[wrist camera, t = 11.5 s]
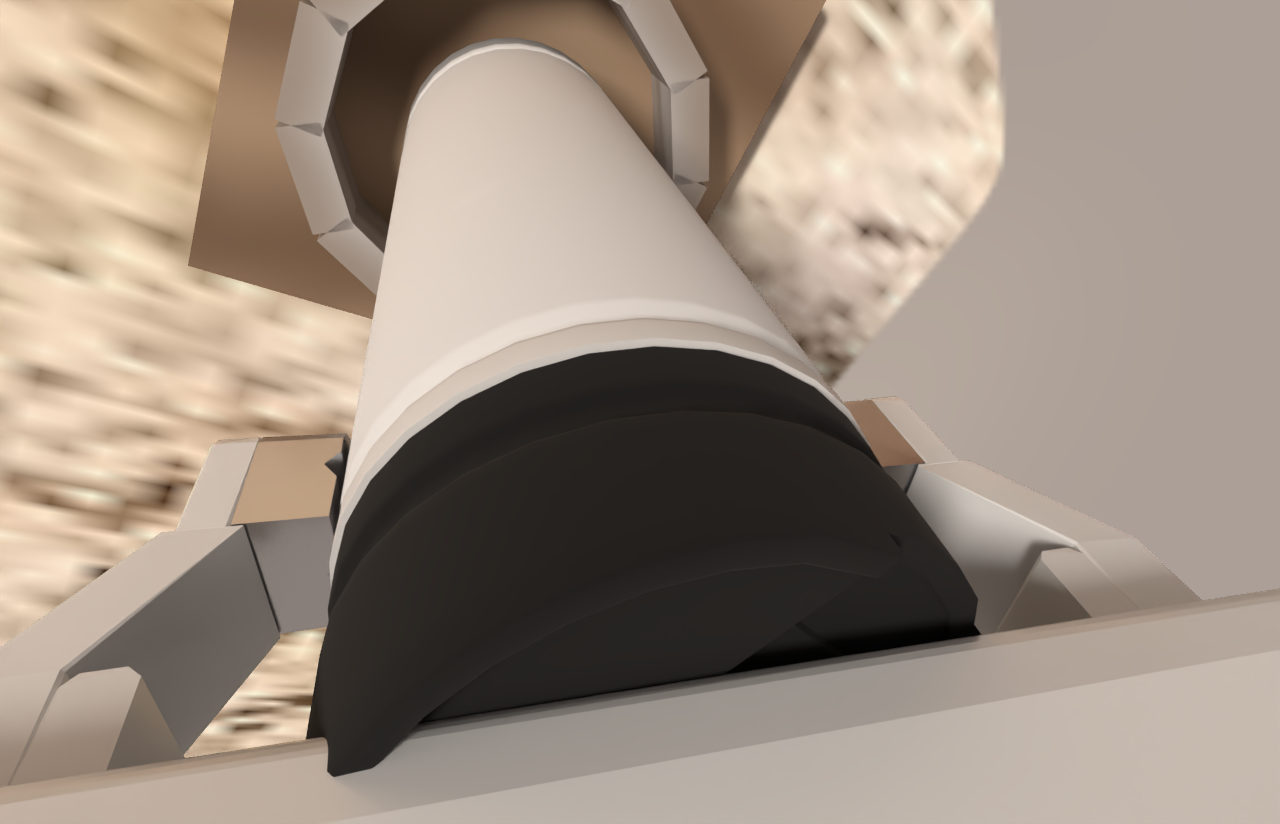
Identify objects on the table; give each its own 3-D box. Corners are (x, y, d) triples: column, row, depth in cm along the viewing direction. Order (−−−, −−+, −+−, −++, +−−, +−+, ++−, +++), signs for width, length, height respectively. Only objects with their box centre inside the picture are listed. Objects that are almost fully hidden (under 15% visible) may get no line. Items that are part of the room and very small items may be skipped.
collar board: (612, 377, 31) (629, 425, 28) (196, 253, 24) (165, 300, 21) (813, -3, 24) (862, 11, 21) (301, -334, 17) (274, -379, 14)
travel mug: (351, 154, 20) (15, 1061, 5) (515, -19, 19) (867, 461, 3) (508, 293, 24) (624, 1072, 8) (658, 158, 22) (1160, 802, 7)
